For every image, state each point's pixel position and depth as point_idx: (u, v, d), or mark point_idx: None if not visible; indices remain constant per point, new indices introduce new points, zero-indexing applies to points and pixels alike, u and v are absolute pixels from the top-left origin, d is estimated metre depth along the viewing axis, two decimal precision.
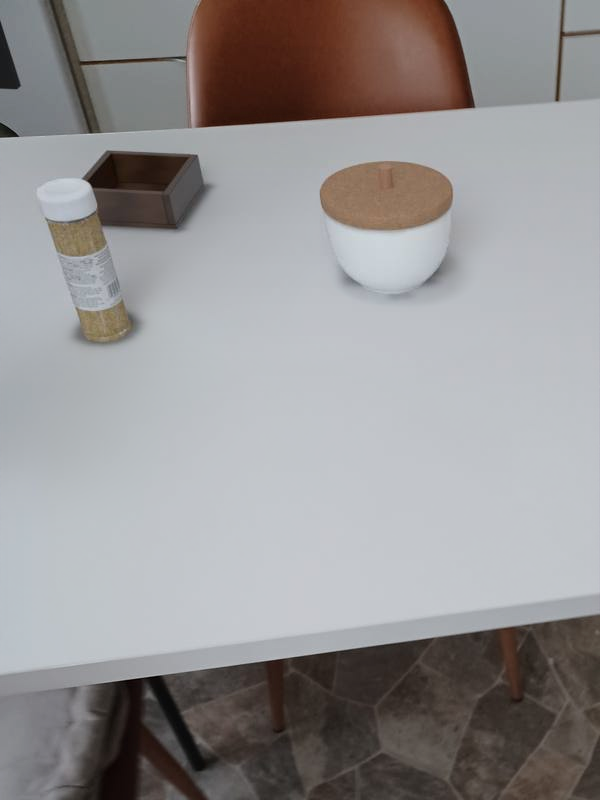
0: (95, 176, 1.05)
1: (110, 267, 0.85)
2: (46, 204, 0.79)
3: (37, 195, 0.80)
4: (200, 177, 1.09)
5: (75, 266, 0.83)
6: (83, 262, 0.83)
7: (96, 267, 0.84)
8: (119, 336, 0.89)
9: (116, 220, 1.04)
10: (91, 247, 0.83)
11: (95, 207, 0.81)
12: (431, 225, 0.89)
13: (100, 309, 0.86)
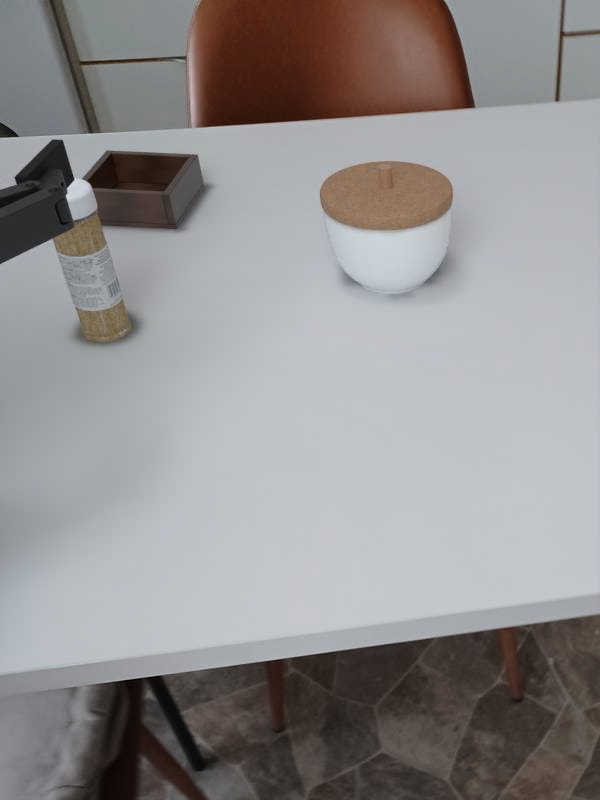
0: (95, 176, 1.05)
1: (110, 267, 0.85)
2: None
3: None
4: (200, 177, 1.09)
5: (75, 266, 0.83)
6: (83, 262, 0.83)
7: (96, 267, 0.84)
8: (119, 336, 0.89)
9: (116, 220, 1.04)
10: (91, 247, 0.83)
11: (95, 207, 0.81)
12: (431, 225, 0.89)
13: (100, 309, 0.86)
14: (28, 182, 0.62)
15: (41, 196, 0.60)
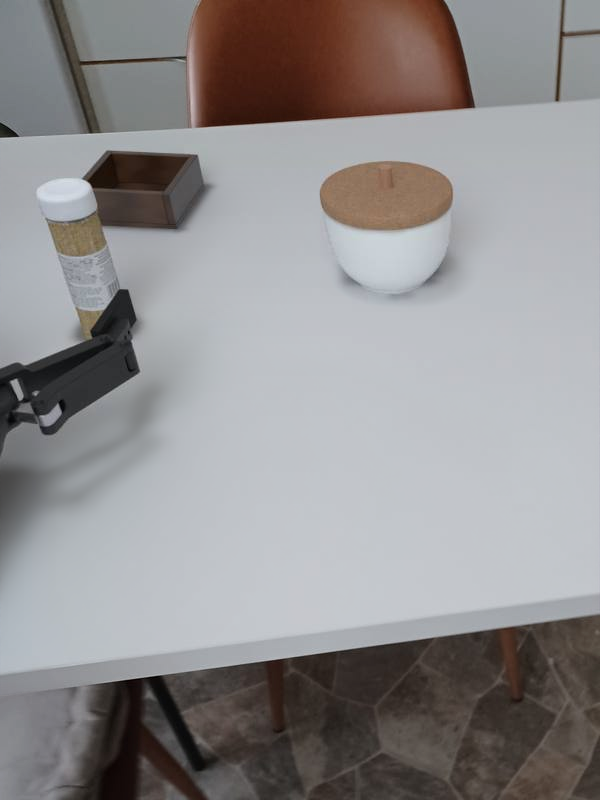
0: (95, 176, 1.05)
1: (110, 268, 0.85)
2: (46, 204, 0.79)
3: (37, 195, 0.80)
4: (200, 177, 1.09)
5: (75, 266, 0.83)
6: (83, 262, 0.83)
7: (96, 267, 0.84)
8: None
9: (116, 220, 1.04)
10: (91, 247, 0.83)
11: (95, 207, 0.81)
12: (431, 225, 0.89)
13: (100, 309, 0.86)
14: (102, 336, 0.73)
15: (114, 351, 0.72)
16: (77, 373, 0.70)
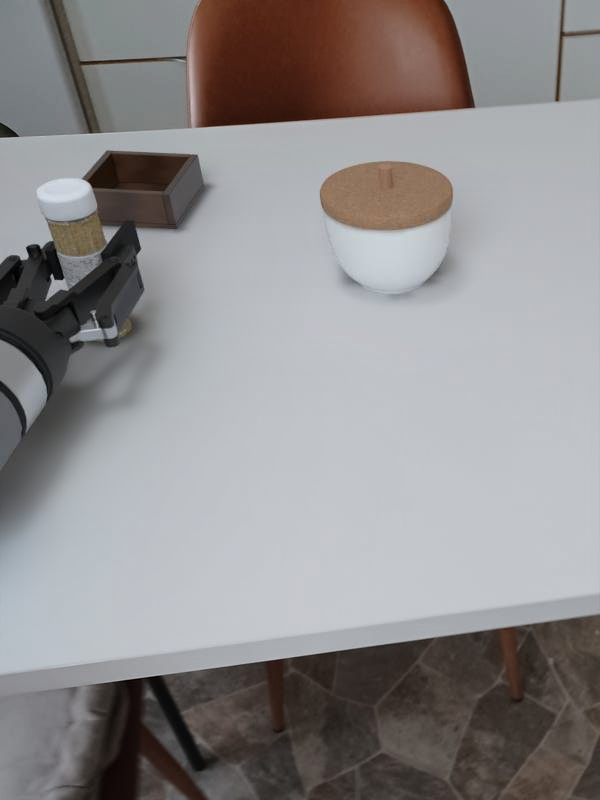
0: (95, 176, 1.05)
1: None
2: (46, 204, 0.79)
3: (37, 195, 0.80)
4: (200, 177, 1.09)
5: (74, 266, 0.83)
6: (83, 262, 0.83)
7: None
8: None
9: (116, 220, 1.04)
10: (91, 247, 0.83)
11: (95, 207, 0.81)
12: (431, 225, 0.89)
13: None
14: (111, 258, 0.83)
15: (128, 270, 0.82)
16: (114, 291, 0.79)
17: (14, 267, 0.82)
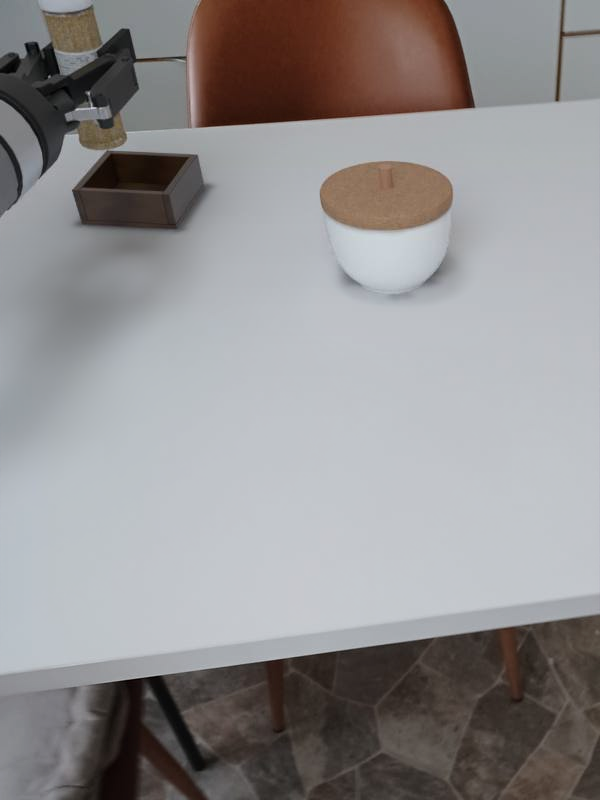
0: (95, 176, 1.05)
1: None
2: None
3: None
4: (200, 177, 1.09)
5: (71, 63, 0.86)
6: (80, 59, 0.86)
7: None
8: (115, 144, 0.92)
9: (116, 220, 1.04)
10: (88, 44, 0.85)
11: (91, 2, 0.84)
12: (431, 225, 0.89)
13: None
14: (107, 54, 0.85)
15: (123, 63, 0.84)
16: (109, 78, 0.82)
17: (13, 62, 0.85)
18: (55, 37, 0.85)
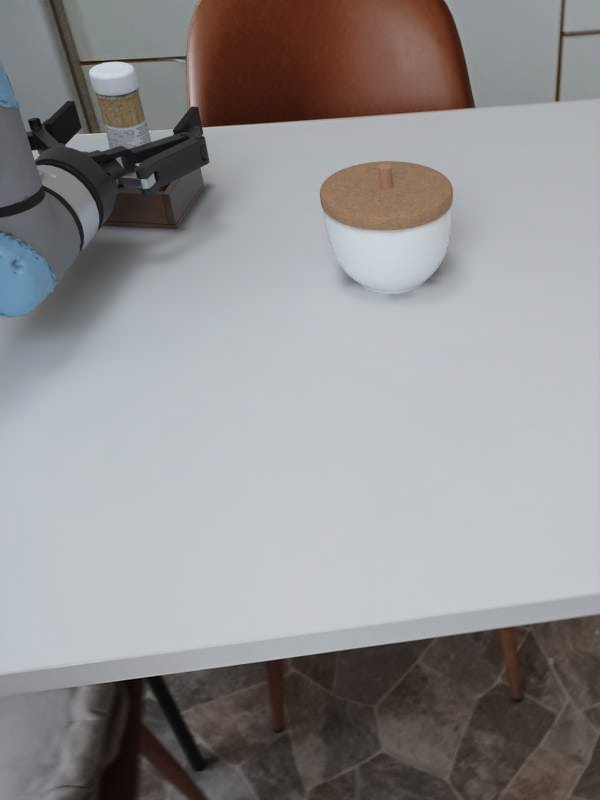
0: None
1: (148, 140, 1.02)
2: (97, 80, 0.96)
3: (90, 73, 0.97)
4: (200, 177, 1.09)
5: (119, 137, 1.00)
6: (127, 133, 1.00)
7: (137, 138, 1.01)
8: None
9: (116, 220, 1.04)
10: (133, 120, 1.00)
11: (137, 85, 0.98)
12: (431, 225, 0.89)
13: None
14: (182, 133, 0.98)
15: (192, 142, 0.96)
16: (166, 153, 0.94)
17: None
18: (106, 115, 0.99)
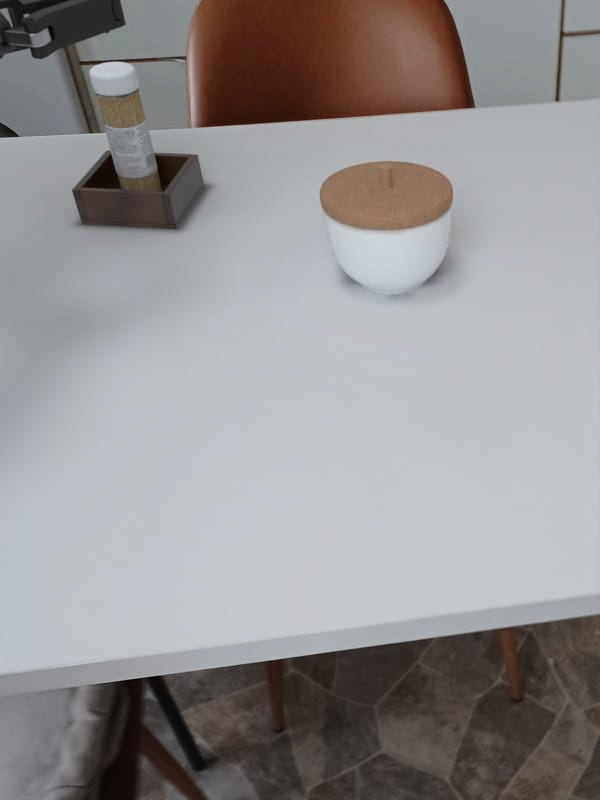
0: (95, 176, 1.05)
1: (148, 141, 1.02)
2: (98, 80, 0.96)
3: (90, 73, 0.97)
4: (200, 177, 1.09)
5: (119, 137, 1.00)
6: (127, 133, 1.00)
7: (137, 138, 1.01)
8: None
9: (116, 220, 1.04)
10: (134, 120, 1.00)
11: (137, 86, 0.98)
12: (431, 225, 0.89)
13: (139, 177, 1.03)
14: None
15: None
16: (66, 5, 0.74)
17: None
18: (106, 115, 0.99)
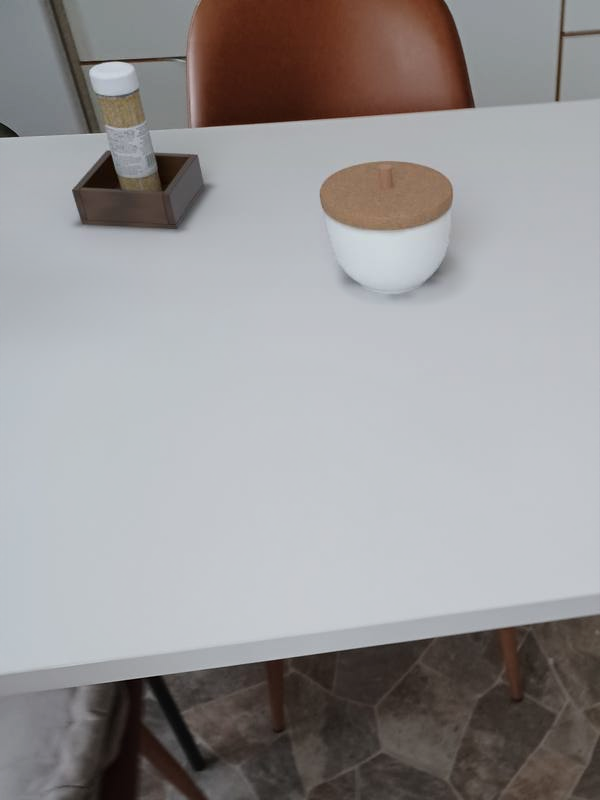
0: (95, 176, 1.05)
1: (148, 141, 1.02)
2: (98, 80, 0.96)
3: (90, 73, 0.97)
4: (200, 177, 1.09)
5: (119, 137, 1.00)
6: (127, 133, 1.00)
7: (137, 138, 1.01)
8: None
9: (116, 220, 1.04)
10: (134, 120, 1.00)
11: (137, 86, 0.98)
12: (431, 225, 0.89)
13: (139, 177, 1.03)
14: None
15: None
16: None
17: None
18: (106, 115, 0.99)
